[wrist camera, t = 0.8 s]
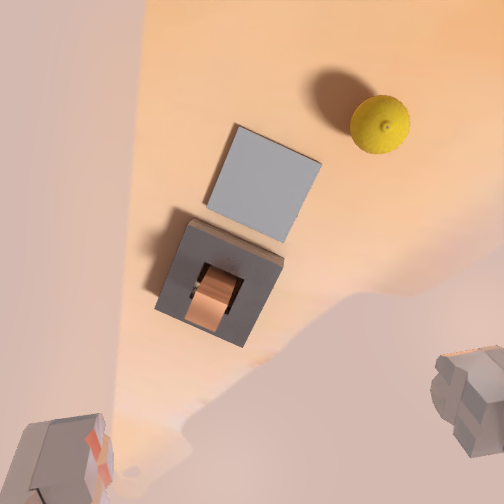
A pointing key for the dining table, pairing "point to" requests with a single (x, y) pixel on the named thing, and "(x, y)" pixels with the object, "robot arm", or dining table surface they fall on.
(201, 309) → the peg
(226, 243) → the collar block
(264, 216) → the mat
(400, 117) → the lemon
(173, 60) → the dining table surface
